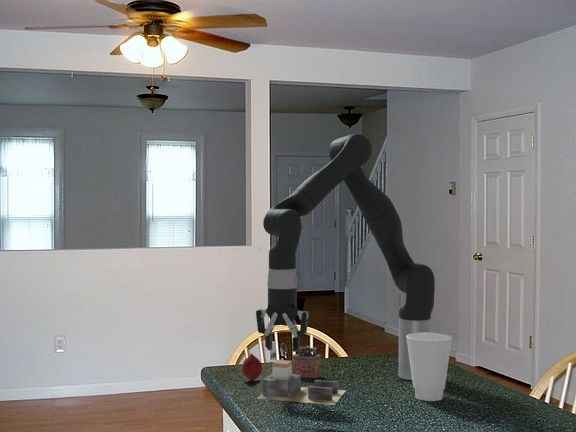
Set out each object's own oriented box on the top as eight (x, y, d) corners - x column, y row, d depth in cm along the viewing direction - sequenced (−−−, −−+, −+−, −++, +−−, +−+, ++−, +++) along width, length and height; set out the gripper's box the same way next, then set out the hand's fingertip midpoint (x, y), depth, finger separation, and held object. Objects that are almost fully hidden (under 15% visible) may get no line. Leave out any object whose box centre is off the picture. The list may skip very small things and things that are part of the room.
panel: (346, 396, 186) (346, 375, 186) (334, 410, 173) (334, 388, 173) (273, 390, 192) (273, 370, 192) (256, 404, 178) (256, 382, 178)
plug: (291, 391, 185) (291, 360, 185) (287, 395, 181) (287, 364, 181) (277, 390, 186) (277, 359, 186) (272, 394, 182) (272, 363, 182)
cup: (401, 401, 182) (402, 339, 181) (410, 389, 193) (410, 331, 192) (448, 405, 177) (449, 342, 177) (454, 393, 189) (455, 334, 188)
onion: (265, 379, 204) (265, 351, 204) (257, 384, 198) (257, 355, 198) (246, 377, 206) (246, 350, 206) (238, 382, 200) (238, 354, 200)
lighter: (320, 380, 203) (320, 345, 203) (320, 383, 200) (320, 348, 199) (292, 379, 204) (292, 345, 204) (291, 382, 200) (291, 347, 200)
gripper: (312, 285, 185) (312, 349, 185) (260, 283, 189) (260, 346, 189) (305, 288, 178) (305, 355, 178) (251, 286, 182) (251, 351, 182)
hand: (282, 350), depth 184 cm, fingers open, 6 cm apart
